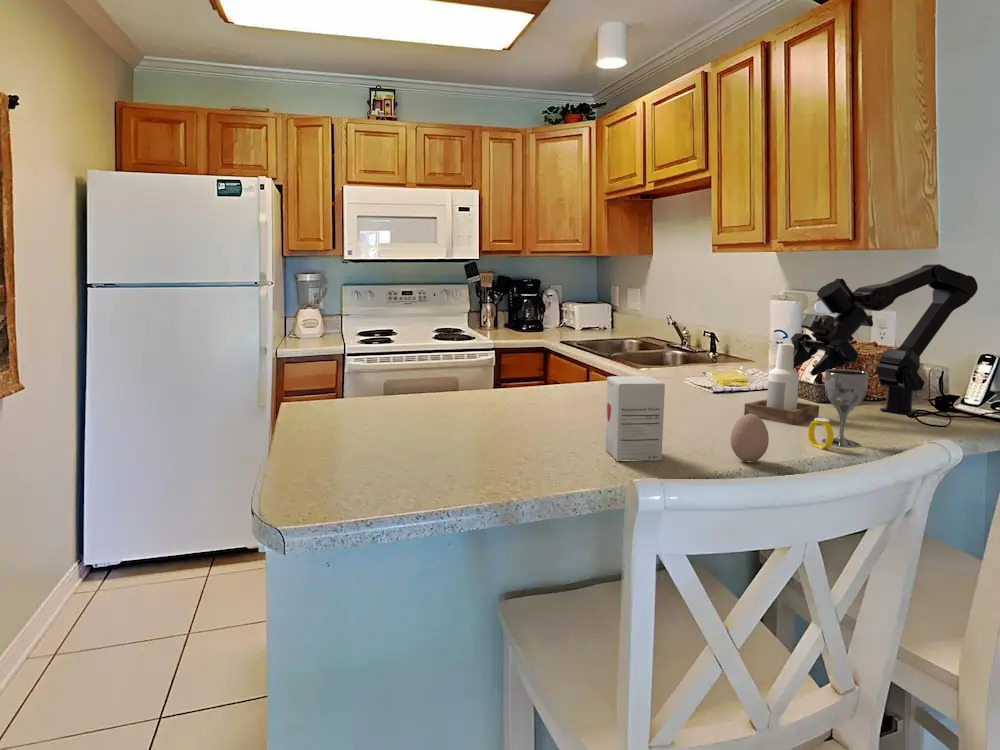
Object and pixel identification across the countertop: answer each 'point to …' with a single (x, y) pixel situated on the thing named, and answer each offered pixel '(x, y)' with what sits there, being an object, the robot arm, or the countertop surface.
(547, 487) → the countertop surface
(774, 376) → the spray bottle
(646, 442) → the supplement box
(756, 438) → the egg
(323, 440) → the countertop surface
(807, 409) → the collar
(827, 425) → the watch
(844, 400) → the wine glass
